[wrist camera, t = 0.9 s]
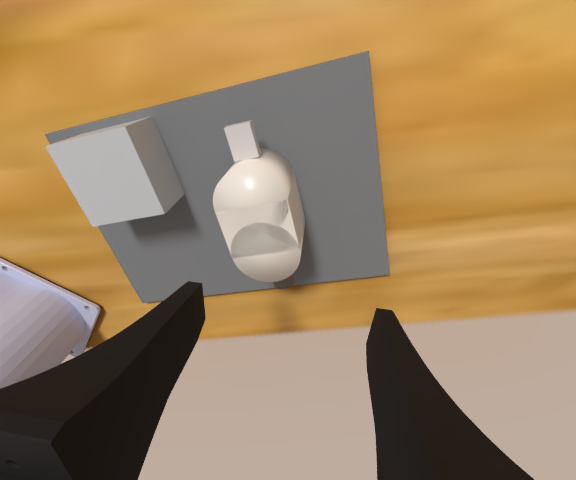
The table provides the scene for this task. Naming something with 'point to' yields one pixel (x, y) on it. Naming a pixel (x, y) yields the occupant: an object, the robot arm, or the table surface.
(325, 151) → the mat
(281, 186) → the plug
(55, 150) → the block
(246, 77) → the table surface
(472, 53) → the table surface
